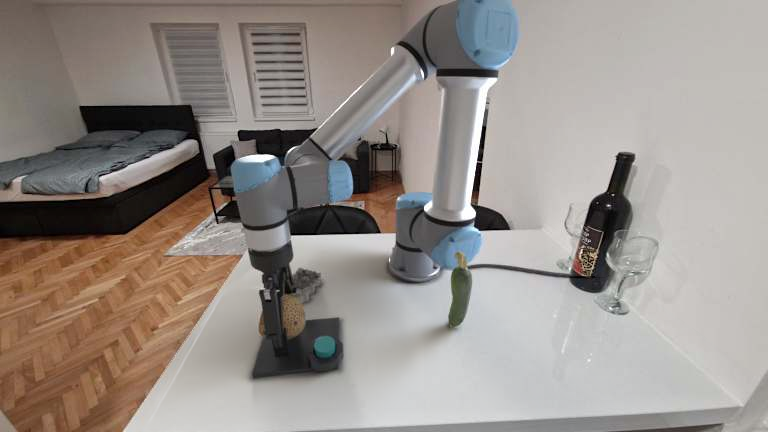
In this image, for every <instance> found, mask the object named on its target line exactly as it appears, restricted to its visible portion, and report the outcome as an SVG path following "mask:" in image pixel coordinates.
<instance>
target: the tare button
mask: <svg viewBox="0 0 768 432" xmlns="http://www.w3.org/2000/svg"><path fill="white" fill-rule="evenodd" d="M314 350H315V355H316V356H317V357H318V358H320V359H326V358H329V357H331V356H332V355H333V354H334V353H335V341H334V339H333V338H332V337H329V336H323V337H320V338H319V339H317V340H316V341H315V343H314Z"/></svg>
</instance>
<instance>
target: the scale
mask: <svg viewBox="0 0 768 432" xmlns="http://www.w3.org/2000/svg"><path fill="white" fill-rule="evenodd" d="M323 336H329V337H332V338H333V339H334V341H335V353H334V354H333V355H332V356H331V357H329V358H326V359H320V358H318V357H317V356H316V355H315V350H314V343H315V341H316V340H317V339H319V338H320V337H323ZM288 343H289V349H290V356H281V357H275V353H274V348H273V344H272V339H270V340H266V338H264V337H263V336H262V341H261V343H260V346H259V350H258V353H257V356H256V360H255V364H254V366H253V369H252V373H251V375H252V379H261V378H270V377H278V376H279V377H280V376H287V375H288V376H289V375H298V374H306V373H307V374H308V373H314V372H317V373H318V372H326V371H334V370H335V371H336V370H339V369H340V367H339V366H340V364H341V362H342V360H343V359H344V344H343V342H342V341H341V340H340V317H338V316H337V317H328V318H317V319H316V318H315V319H306V323H305V327H304V329H303V331H302V332H301V333H300V334H299V335H297V336H296V337H294V338H292V339H289V340H288Z"/></svg>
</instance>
